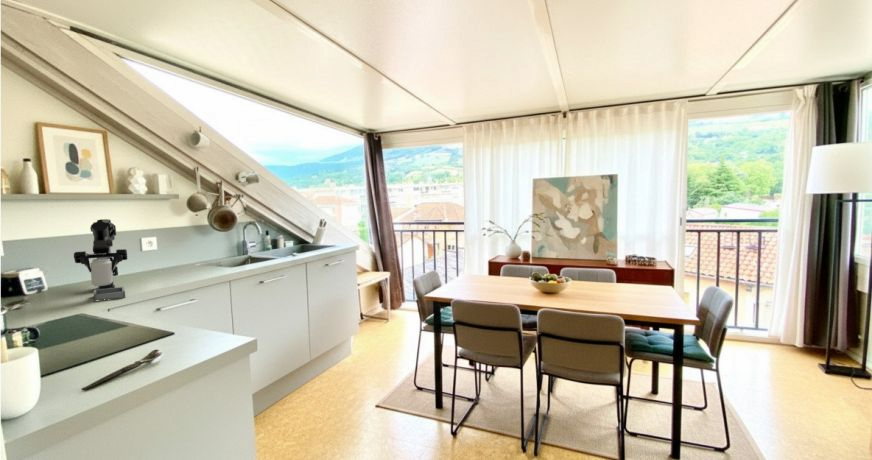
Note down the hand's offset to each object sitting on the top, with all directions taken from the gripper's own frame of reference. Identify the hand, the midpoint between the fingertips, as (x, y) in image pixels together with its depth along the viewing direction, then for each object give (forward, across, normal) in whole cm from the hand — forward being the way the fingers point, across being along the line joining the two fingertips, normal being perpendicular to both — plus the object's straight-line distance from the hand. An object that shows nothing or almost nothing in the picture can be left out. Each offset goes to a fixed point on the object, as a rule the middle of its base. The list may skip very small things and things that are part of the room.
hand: (101, 270), depth 176 cm
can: (+4, 0, +6) cm, 7 cm away
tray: (+8, +2, +11) cm, 14 cm away
